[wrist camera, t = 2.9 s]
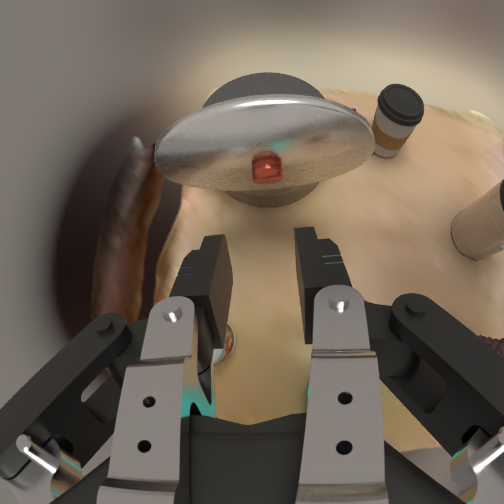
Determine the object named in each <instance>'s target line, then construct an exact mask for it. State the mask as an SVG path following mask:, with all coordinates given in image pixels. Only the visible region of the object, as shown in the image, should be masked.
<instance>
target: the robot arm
mask: <svg viewBox="0 0 504 504" xmlns="http://www.w3.org/2000/svg"><path fill="white" fill-rule="evenodd" d="M451 232H452V238H453V241H454V243H455V246H456V247H457V249H458V250H459V251H460V252H461V253H462V254H464V255H465V256H468V257H473V258H475V259H476V260H477V261H478V260H480V259H483V258H485V257H487V256H490V255H492V254H495V253H497V252H499V251H502V250H504V179H503V180H502V181H501V182H500V183H498V184H497V185H496V186H495V187H493V188H492V189H491V190H490V191H488V192H487V193H486V194H485V195H483V196H482V197H481V198H479V199H478V200H477V201H475V202H474V203H473V204H471V205H470V206H469V207H467V208H466V209H465V210H463V211H462V212H460V213H459V214H458V215H457V216H456V217H455V218H454V220H453V222H452V228H451ZM294 238H295V255H296V271H297V281H298V289H299V297H300V305H301V313H302V321H303V330H304V338H305V344H312V353H311V367H310V381H309V394H308V406H307V413H300V414H291V415H288V416H284V417H280V418H277V419H273V420H269V421H265V422H262V423H258V424H253V425H243V424H238V423H234V422H230V421H226V420H222V419H218V418H217V417H216V411H215V384H214V363H213V360H212V357H213V351H214V349H224V342H225V335H226V328H227V321H228V314H229V307H230V300H231V293H232V286H233V274H232V267H231V262H230V257H229V251H228V246H227V241H226V237H225V235H224V234H222V235H211V236H205V237H204V239H203V242H202V245H201V248H200V249H199V250H192V251H191V252H190V253H189V254H188V255H187V256H186V257H185V258H184V260H183V262H182V265H181V268H180V270H179V272H178V276H177V277H176V280H175V282H174V285H173V288H172V290H171V293H170V295H169V298H166V299H164V300H162V301H160V302H159V303H157V304H156V305H155V306H154V307H153V308H152V310H151V312H150V315H149V318H147V319H144V320H140V321H137V322H133V323H129V324H127V323H126V321H125V319H124V317H123V316H122V315H120V314H118V313H107V314H104V315H101V316H99V317H97V318H96V319H94V320H93V321H92V322H91V323H90V324H89V325H88V326H86V327H85V328H84V329H83V330H82V331H81V332H80V333H79V334H78V335H77V336H75V337H74V339H72V340H71V341H70V342H69V343H68V344H67V345H66V346H65V347H64V348H62V350H60V351H59V352H58V353H57V354H56V355H55V356H54V357H53V358H52V359H51V360H50V361H49V362H48V363H47V364H46V365H45V366H43V368H41V369H40V371H38V372H37V373H36V374H35V375H34V376H33V377H32V378H31V379H30V380H29V381H28V382H27V383H26V384H25V385H24V386H23V387H22V388H21V389H20V390H19V391H18V392H17V393H16V394H15V395H14V396H13V397H12V398H11V399H10V400H9V401H8V402H7V403H6V404H5V405H4V406H3V407H2V408H1V409H0V478H1V479H2V480H4V481H5V482H6V484H7V485H8V487H9V488H10V490H11V491H12V493H13V494H14V496H15V497H16V499H17V500H18V502H19V503H20V504H504V358H503V357H502V356H501V355H500V354H498V353H497V352H496V351H495V350H494V349H492V348H491V347H490V346H489V345H488V344H486V343H485V342H484V341H483V340H482V339H480V338H479V337H478V336H477V335H476V334H474V333H473V332H472V331H471V330H469V329H468V328H467V327H466V326H464V325H463V324H462V323H461V322H459V321H458V320H457V319H456V318H454V317H453V316H452V315H450V314H449V313H448V312H447V311H445V310H444V309H443V308H441V307H440V306H439V305H437V304H436V303H435V302H434V301H432V300H431V299H429V298H428V297H426V296H423V295H421V294H415V293H408V294H404V295H401V296H399V297H398V298H396V299H395V300H394V302H393V305H392V306H387V305H378V304H373V303H369V302H367V301H365V300H364V299H363V297H362V295H361V293H360V292H359V291H357V290H356V289H354V288H353V287H352V285H351V282H350V279H349V276H348V273H347V270H346V268H345V265H344V263H343V259H342V257H341V254H340V251H339V249H338V246H337V245H336V244H335V243H334V242H333V241H331V240H330V239H317V236H316V232H315V229H314V227H302V228H294ZM105 368H106V369H107V370H108V372H109V373H110V376H109V378H108V379H107V380H106V381H105V382H104V383H103V384H102V385H101V386H100V387H99V388H98V389H97V390H96V391H95V392H94V393H93V394H92V395H91V396H90V397H89V398H88V399H87V400H86V401H85V402H81V395H82V392H83V391H84V389H85V388H86V387H87V386H88V385H89V384H90V383H91V382H92V381H93V380H94V379H95V378H96V377H97V376H98V375H99V374H100V373H101V372H102V371H103V370H104V369H105ZM380 380H381V381H382V382H383V383H384V384H385V385H386V386H387V388H388V389H389V390H390V391H391V392H392V393H393V394H394V395H395V396H396V397H397V398H398V399H399V400H400V401H401V403H402V404H403V405H404V406H405V407H406V408H407V409H408V410H409V411H410V412H411V413H412V414H413V415H414V417H415V418H416V419H417V420H418V421H419V422H420V423H421V424H422V425H423V426H424V427H425V428H426V429H427V431H428V432H429V433H430V434H431V435H432V436H433V437H434V438H435V439H436V440H437V441H438V442H439V444H440V445H441V446H442V447H443V448H444V449H445V450H446V451H447V452H448V453H449V454H450V455H451V457H452V460H451V465H450V473H451V479H452V481H453V482H454V483H455V484H456V485H457V488H458V497H457V496H455V495H454V494H453V493H451V492H450V491H449V490H447V489H446V488H445V487H443V486H442V485H441V484H439V483H437V482H436V481H435V480H434V479H433V478H431V477H430V476H429V475H427V474H426V473H425V472H423V471H422V470H421V469H419V468H418V467H417V466H416V465H414V464H413V463H412V462H411V461H409V460H408V459H407V458H406V457H404V456H403V455H402V454H401V453H399V452H398V451H397V450H396V449H394V448H393V447H392V446H391V445H389V444H388V443H387V442H386V441H385V440H384V433H383V415H382V402H381V390H380ZM113 433H114V436H113V443H112V449H111V450H112V451H111V456H110V457H109V458H107V459H106V460H105V461H104V462H102V463H101V464H100V465H99V466H97V467H96V468H95V469H94V470H93V471H91V472H90V473H89V474H87V475H86V476H85V477H84V476H83V475H82V474H81V469H82V468H83V467H84V466H85V465H86V464H87V462H88V461H89V460H90V459H91V458H92V457H93V456H94V455H95V453H96V452H97V451H98V450H99V449H100V447H102V445H103V444H104V443H105V442H106V441H107V440H108V439H109V438H110V436H111V435H112V434H113Z"/></svg>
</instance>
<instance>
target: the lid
mask: <svg viewBox="0 0 504 504" xmlns="http://www.w3.org/2000/svg"><path fill="white" fill-rule="evenodd" d="M374 150H375V139H374V135H373V130H372V128H371V126H370V124H369V122H368V121H367V120H366V119H365V118H364V117H363V116H362V115H361V114H359V113H358V112H356V111H355V110H353V109H351V108H349V107H347V106H345V105H342V104H340V103H337V102H334V101H331V100H327V99H322V98H318V97H313V96H305V95H296V94H266V95H254V96H247V97H241V98H235V99H231V100H226V101H223V102H219V103H215V104H212V105H209V106H207V107H204V108H201V109H198V110H196V111H194V112H192V113H190V114H188V115H186V116H184V117H183V118H181V119H179V120H178V121H176V122H175V123H173V124H172V125H171V126H170V127H169V128H167V129H166V130H165V131H164V132H163V134H162V135H161V136H160V137H159V139H158V141H157V143H156V147H155V165H156V168H157V169H158V171H159V172H160V173H161V174H162V175H163V176H165V177H166V178H168V179H170V180H172V181H174V182H177V183H180V184H183V185H187V186H191V187H196V188H202V189H211V190H226V191H259V190H270V189H281V188H290V187H293V186H299V185H305V184H310V183H314V182H319V181H323V180H326V179H330V178H333V177H336V176H339V175H342V174H344V173H347V172H349V171H351V170H353V169H355V168H357V167H359V166H360V165H362V164H363V163H364V162H366V161H367V160H368V159H369V158H370V157H371V156H372V154H373V152H374Z"/></svg>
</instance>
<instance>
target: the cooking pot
mask: <svg viewBox="0 0 504 504" xmlns="http://www.w3.org/2000/svg"><path fill="white" fill-rule="evenodd" d="M266 94H296V95H305V96H313V97H318V98H322V99H325V98H324V97H323V96H322V94H321V93H320V92H319V91H318V90H317V89H315V88H314V87H313V86H312V85H310V84H308V83H307V82H305V81H303V80H301V79H299V78H296V77H293V76H290V75H286V74H280V73H256V74H250V75H246V76H242V77H240V78H237V79H235V80H232V81H230V82H228V83H226V84H225V85H223V86H222V87H220V88H219V89H218V90H216V91H215V92H214V93H213V94H212V95H211V96H210V97H209V98H208V100H207V101H206V102H205V104H204V105H203V107H202V108H204V107H207V106H209V105H212V104H215V103H219V102H223V101H226V100H231V99H235V98H241V97H247V96H254V95H266ZM353 110H355V111H356V109H353ZM318 183H319V182H314V183H310V184H305V185H299V186H293V187H290V188H281V189H270V190H259V191H226V190H225V191H226V192H227V193H229V194H230V195H231V196H232V197H234V198H235V199H237V200H239V201H241V202H243V203H246V204H249V205H252V206H257V207H279V206H284V205H288V204H291V203H293V202H296V201H298V200H299V199H301V198H303V197H304V196H306V195H307V194H308V193H310V192H311V191H312V190H313V189H314V188H315V186H316V185H317V184H318Z"/></svg>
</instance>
